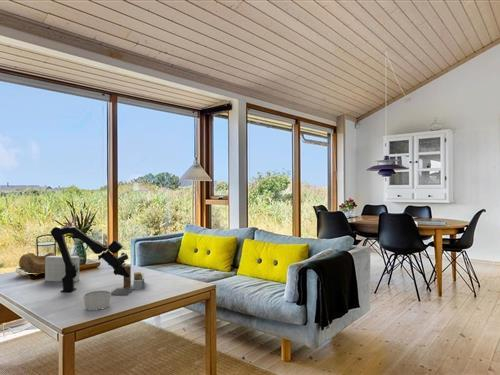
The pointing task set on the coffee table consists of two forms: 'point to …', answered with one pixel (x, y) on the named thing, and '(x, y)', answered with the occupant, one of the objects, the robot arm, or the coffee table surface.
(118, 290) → the charcoal mat
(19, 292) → the coffee table surface
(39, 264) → the rough brown rock
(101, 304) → the ramekin
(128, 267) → the brown wooden block
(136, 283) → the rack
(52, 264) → the skincare box
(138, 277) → the upper oak offcut
